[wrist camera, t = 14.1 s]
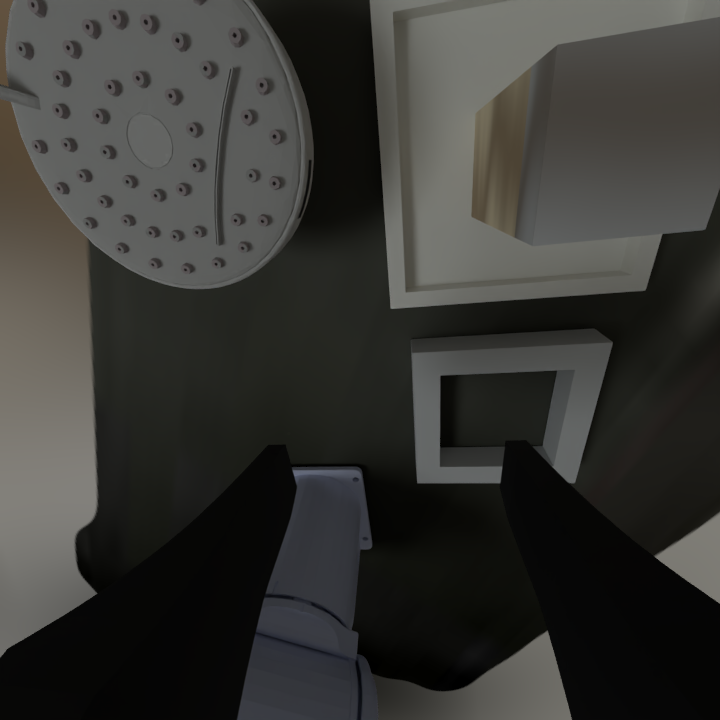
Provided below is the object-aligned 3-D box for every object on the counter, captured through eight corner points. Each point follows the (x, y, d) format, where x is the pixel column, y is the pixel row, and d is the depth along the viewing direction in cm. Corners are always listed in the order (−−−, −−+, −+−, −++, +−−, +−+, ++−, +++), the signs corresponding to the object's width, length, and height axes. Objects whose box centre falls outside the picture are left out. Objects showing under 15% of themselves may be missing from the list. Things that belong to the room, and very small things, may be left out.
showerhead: (-120, -201, 7) (334, -28, 8) (125, -20, 13) (362, 67, 14) (-10, 244, 12) (270, 331, 12) (134, 221, 18) (313, 279, 18)
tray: (626, 282, 17) (645, 290, 16) (391, 299, 19) (390, 308, 17) (718, -63, 11) (760, -94, 10) (371, 4, 13) (368, -15, 12)
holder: (562, 462, 23) (574, 483, 21) (415, 463, 24) (417, 483, 23) (594, 328, 18) (613, 342, 17) (410, 339, 20) (412, 353, 18)
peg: (561, 207, 15) (704, 230, 8) (471, 216, 16) (532, 246, 9) (579, 97, 13) (783, 5, 6) (475, 113, 14) (557, 44, 7)
